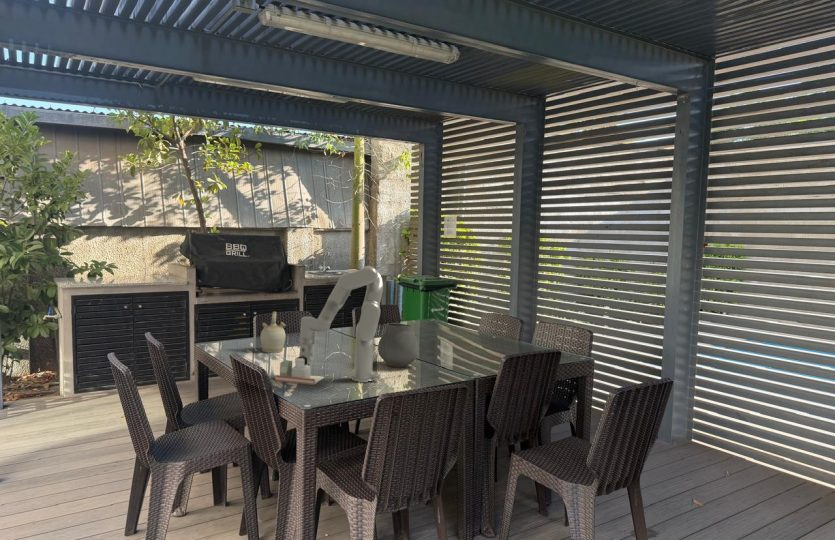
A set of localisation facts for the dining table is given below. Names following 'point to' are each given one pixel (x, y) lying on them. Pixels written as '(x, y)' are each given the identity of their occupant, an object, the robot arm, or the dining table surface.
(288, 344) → the dining table surface
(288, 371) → the tea box
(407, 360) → the ceramic pot
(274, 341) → the jug
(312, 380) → the cream flat block
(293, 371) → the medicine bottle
